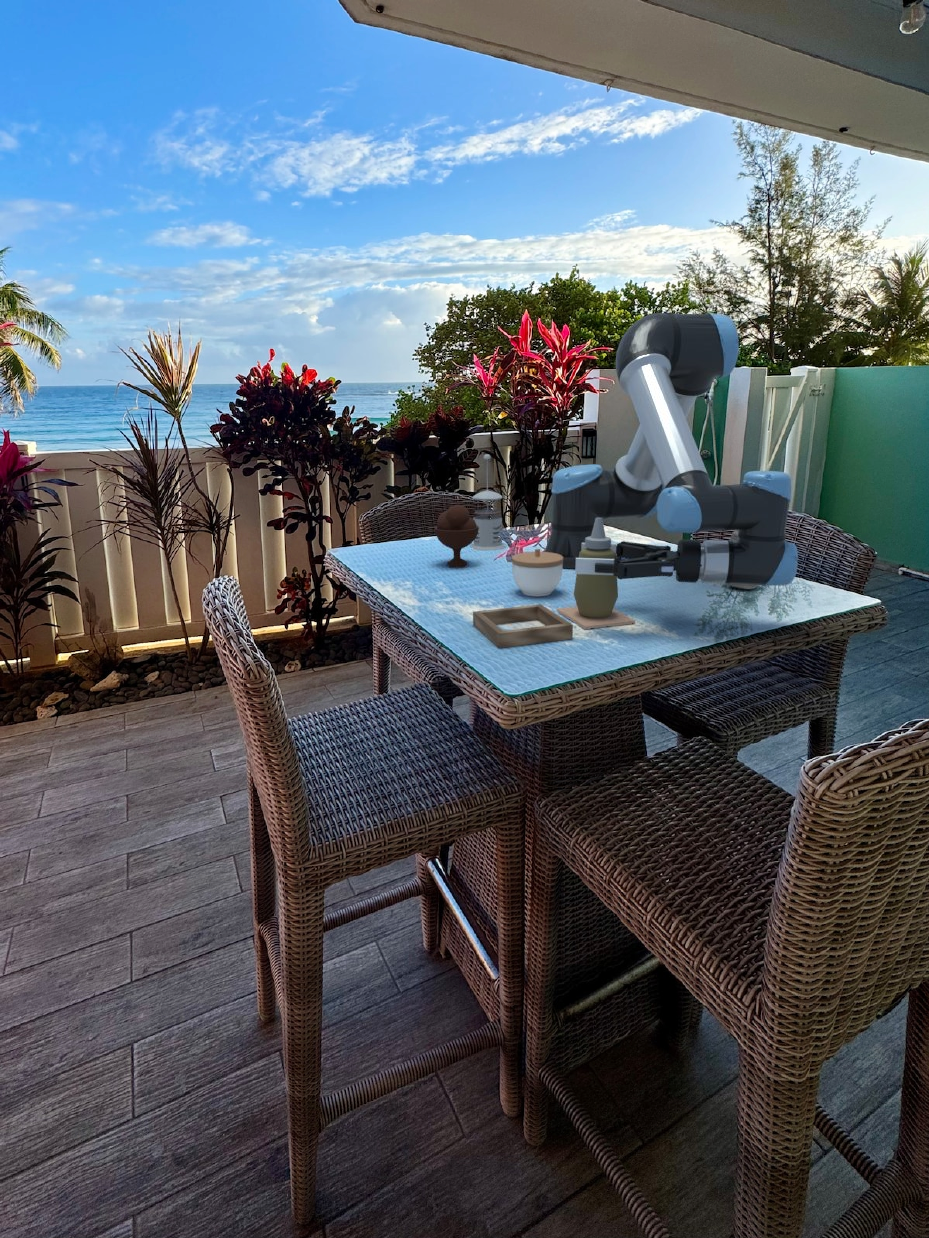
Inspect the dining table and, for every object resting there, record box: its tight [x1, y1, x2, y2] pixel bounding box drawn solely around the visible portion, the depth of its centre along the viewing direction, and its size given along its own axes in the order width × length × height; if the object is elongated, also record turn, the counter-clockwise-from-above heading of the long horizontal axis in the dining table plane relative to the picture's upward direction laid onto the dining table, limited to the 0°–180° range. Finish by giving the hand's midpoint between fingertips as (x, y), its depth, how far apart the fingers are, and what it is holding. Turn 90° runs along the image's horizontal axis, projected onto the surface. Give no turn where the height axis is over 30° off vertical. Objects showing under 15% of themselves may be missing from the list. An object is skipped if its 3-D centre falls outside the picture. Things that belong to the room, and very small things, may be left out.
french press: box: [470, 453, 506, 551], centre depth 195 cm, size 10×12×25 cm
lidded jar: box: [511, 548, 564, 597], centre depth 149 cm, size 11×11×9 cm
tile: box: [556, 605, 636, 630], centre depth 133 cm, size 10×12×1 cm
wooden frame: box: [472, 603, 574, 649], centre depth 126 cm, size 13×13×2 cm
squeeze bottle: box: [573, 518, 619, 618], centre depth 131 cm, size 8×8×18 cm
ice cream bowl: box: [434, 504, 479, 569], centre depth 175 cm, size 11×11×15 cm
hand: (578, 557), depth 131 cm, fingers open, 13 cm apart
